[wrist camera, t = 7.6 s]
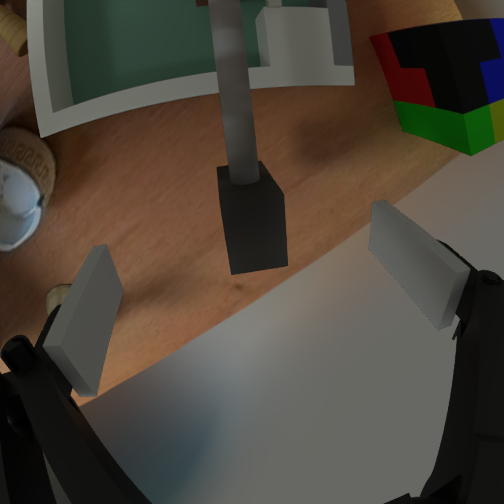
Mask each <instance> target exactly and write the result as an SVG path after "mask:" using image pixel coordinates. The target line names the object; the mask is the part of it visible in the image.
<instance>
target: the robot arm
mask: <svg viewBox="0 0 504 504" xmlns="http://www.w3.org/2000/svg"><path fill="white" fill-rule="evenodd" d="M369 250H370V251H371V252H372V254H373V255H374V256H375V257H376V258H377V259H378V260H379V261H380V262H381V264H382V265H383V266H384V267H385V268H386V269H387V270H388V271H389V273H390V274H391V275H392V276H393V277H394V278H395V280H396V281H397V282H398V283H399V284H400V285H401V286H402V288H403V289H404V290H405V291H406V292H407V294H408V295H409V296H410V297H411V298H412V300H413V301H414V302H415V303H416V304H417V306H418V307H419V308H420V309H421V311H423V313H424V314H425V315H426V317H427V318H428V319H429V320H430V322H431V323H432V324H433V325H434V327H435V328H436V329H437V330H440V329H443V328H445V327H448V326H451V324H452V321H453V319H454V316H455V314H456V315H457V316H458V317H459V318H460V321H459V323H458V326H457V328H456V331H455V333H454V335H453V338H452V340H454V339H455V337H456V336H457V343H456V355H455V364H454V373H453V381H452V388H451V394H450V401H449V406H448V412H447V417H446V422H445V426H444V431H443V435H442V440H441V444H440V448H439V452H438V455H437V459H436V463H435V466H434V469H433V472H432V474H431V476H430V477H429V479H428V480H427V482H426V484H425V486H424V488H423V490H422V492H421V494H420V497H412V498H411V497H410V494H409V493H407V494H405V495H403V496H401V497H398V498H396V499H394V500H391V501H389V502H387V503H384V504H504V280H502V279H501V277H500V276H498V275H497V274H496V273H494V272H492V271H489V270H481V271H478V270H477V269H475V268H474V267H473V266H472V265H471V264H470V263H469V262H467V261H466V260H465V259H464V258H463V257H462V256H460V255H459V254H458V253H457V252H456V251H454V250H453V249H452V248H451V247H450V246H449V245H447V244H445V243H443V242H441V241H439V240H436V239H435V238H434V237H432V236H431V235H430V234H429V233H427V232H426V231H425V230H424V229H422V228H421V227H420V226H418V225H417V224H416V223H415V222H413V221H412V220H411V219H409V218H408V217H407V216H405V215H404V214H403V213H401V212H400V211H399V210H397V209H396V208H395V207H393V206H392V205H391V204H389V203H388V202H387V201H385V200H383V201H375V202H372V214H371V228H370V239H369ZM123 292H124V290H123V287H122V284H121V282H120V279H119V277H118V274H117V271H116V269H115V266H114V263H113V260H112V258H111V255H110V252H109V249H108V246H107V244H104V245H99V246H94V247H93V248H92V249H91V251H90V253H89V255H88V256H87V258H86V260H85V262H84V263H83V265H82V267H81V269H80V271H79V272H78V274H77V276H76V278H75V280H74V282H73V284H72V285H71V287H70V289H69V291H68V293H67V295H66V297H65V299H64V301H63V303H62V304H59V305H57V306H56V307H55V308H54V310H53V311H52V312H51V313H50V315H49V317H48V319H47V321H46V323H45V325H44V327H43V330H42V331H41V333H40V336H39V338H38V340H37V342H36V344H35V347H33V345H32V344H31V342H30V341H29V339H28V338H27V337H26V336H24V335H17V336H15V337H13V338H11V339H10V340H9V341H7V342H6V344H5V345H4V346H3V348H2V350H1V354H0V357H1V359H2V360H3V361H4V363H5V364H6V365H7V367H8V368H9V369H10V370H11V371H10V372H7V373H4V374H1V372H0V504H57V503H56V500H55V497H54V494H53V490H52V487H51V483H50V480H49V476H48V472H47V468H46V464H45V460H44V456H43V452H44V454H45V456H46V458H47V460H48V462H49V464H50V466H51V468H52V470H53V472H54V474H55V475H56V477H57V479H58V481H59V483H60V485H61V486H62V488H63V490H64V491H65V493H66V495H67V496H68V498H69V500H70V501H71V503H72V504H152V503H151V502H150V501H149V500H148V499H147V498H146V497H145V495H144V494H143V493H142V492H141V491H140V490H139V489H138V488H137V486H136V485H135V484H134V483H133V482H132V481H131V479H130V478H129V477H128V476H127V475H126V473H125V472H124V471H123V470H122V468H121V467H120V466H119V465H118V463H117V462H116V461H115V460H114V458H113V457H112V456H111V454H110V453H109V452H108V450H107V449H106V447H105V446H104V445H103V443H102V442H101V441H100V439H99V438H98V436H97V435H96V434H95V432H94V430H93V429H92V427H91V426H90V424H89V423H88V421H87V420H86V418H85V417H84V415H83V414H82V412H81V410H80V409H79V407H78V405H77V404H76V402H75V400H74V399H73V398H72V397H71V396H70V395H71V391H72V387H73V389H74V390H75V391H76V392H77V394H78V395H79V396H80V397H97V393H98V388H99V383H100V379H101V374H102V370H103V365H104V361H105V357H106V353H107V349H108V345H109V341H110V337H111V333H112V330H113V326H114V322H115V319H116V315H117V312H118V308H119V305H120V302H121V298H122V295H123ZM42 450H43V451H42Z"/></svg>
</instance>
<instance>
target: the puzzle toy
mask: <svg viewBox="0 0 504 504" xmlns="http://www.w3.org/2000/svg"><path fill="white" fill-rule="evenodd" d="M369 38H370V40H371V42H372V45H373V47H374V50H375V52H376V54H377V57H378V59H379V62H380V64H381V67H382V70H383V72H384V75H385V78H386V80H387V83H388V86H389V89H390V92H391V95H392V98H393V101H394V104H395V107H396V110H397V113H398V116H399V120H400V123H401V127H402V130H403V131H404V132H407V133H410V134H413V135H416V136H419V137H422V138H425V139H428V140H431V141H433V142H436V143H439V144H442V145H444V146H447V147H449V148H452V149H454V150H457V151H459V152H462V153H464V154H467V155H469V156H472V155H474V154H476V153H478V152H480V151H482V150H484V149H486V148H488V147H490V146H492V145H494V144H496V143H498V142H500V141H502V140H504V18H491V19H473V20H472V19H471V20H459V21H449V22H441V23H434V24H428V25H422V26H416V27H411V28H406V29H401V30H396V31H391V32H387V33H383V34H378V35H374V36H370V37H369Z"/></svg>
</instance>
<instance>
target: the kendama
mask: <svg viewBox="0 0 504 504" xmlns="http://www.w3.org/2000/svg"><path fill="white" fill-rule="evenodd" d="M0 36H1V37H2V39H3V40H4V41H5V42H6V43H7V44H8V45H9V46H10V47H11V49H12V50H13V51H14V52H15V53H16V55H17V56H19V57H22V56H24V55H26V54H27V53H28V39H27V21H25V20H24V19H22V18H21V17H20V16H18V15H17V14H15V13H14V12H12V11H11V10H9V9H8V8H6V7H5V6H3V5H1V4H0Z"/></svg>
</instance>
